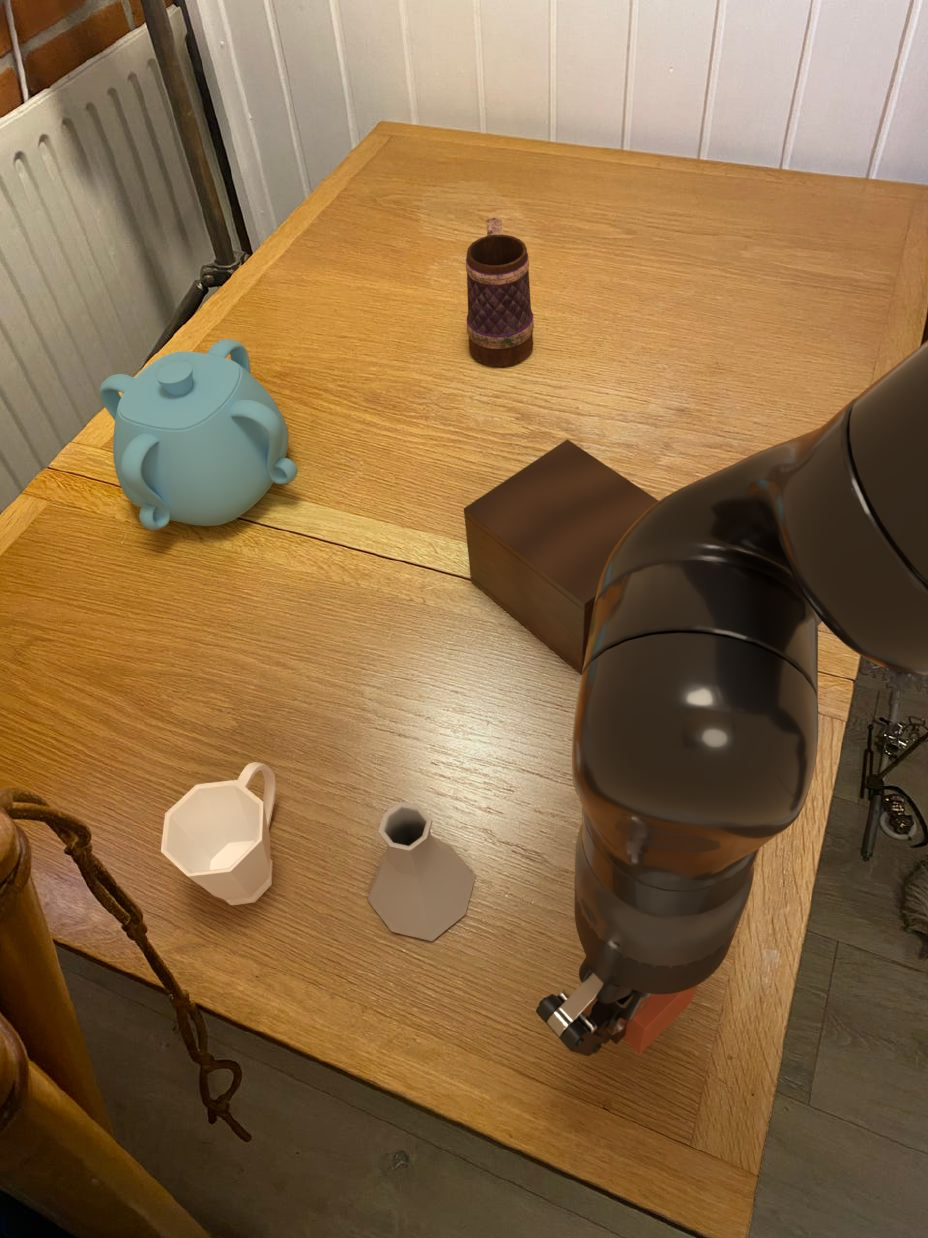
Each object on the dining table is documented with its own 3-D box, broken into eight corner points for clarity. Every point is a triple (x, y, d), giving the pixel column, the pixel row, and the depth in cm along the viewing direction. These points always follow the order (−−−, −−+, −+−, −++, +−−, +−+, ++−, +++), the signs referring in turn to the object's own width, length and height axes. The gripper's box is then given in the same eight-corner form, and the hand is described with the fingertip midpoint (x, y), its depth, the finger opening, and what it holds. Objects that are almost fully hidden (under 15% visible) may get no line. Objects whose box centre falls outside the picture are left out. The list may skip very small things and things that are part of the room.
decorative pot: (127, 450, 98) (74, 338, 87) (281, 411, 100) (247, 296, 89) (141, 563, 88) (82, 452, 77) (311, 517, 90) (277, 402, 79)
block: (635, 943, 58) (640, 913, 54) (692, 1000, 56) (702, 972, 52) (582, 994, 57) (584, 967, 53) (639, 1055, 54) (644, 1031, 50)
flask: (436, 961, 63) (419, 904, 55) (349, 906, 66) (322, 843, 58) (493, 872, 67) (486, 807, 59) (409, 823, 70) (391, 754, 62)
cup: (177, 909, 67) (138, 862, 60) (239, 786, 72) (209, 730, 66) (268, 937, 65) (237, 890, 59) (323, 808, 71) (301, 753, 64)
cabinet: (679, 597, 81) (691, 522, 74) (581, 675, 76) (584, 603, 69) (566, 514, 88) (567, 438, 80) (470, 581, 83) (463, 508, 76)
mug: (535, 367, 101) (533, 264, 92) (468, 370, 101) (459, 268, 92) (532, 310, 107) (530, 208, 98) (469, 313, 108) (461, 212, 98)
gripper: (607, 1061, 38) (597, 1140, 52) (830, 835, 43) (768, 961, 57) (483, 924, 42) (504, 1031, 55) (701, 731, 47) (672, 872, 60)
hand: (638, 995), depth 56 cm, fingers closed on block, 4 cm apart
